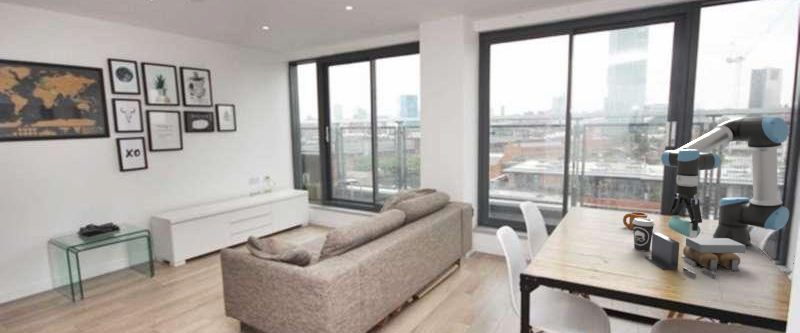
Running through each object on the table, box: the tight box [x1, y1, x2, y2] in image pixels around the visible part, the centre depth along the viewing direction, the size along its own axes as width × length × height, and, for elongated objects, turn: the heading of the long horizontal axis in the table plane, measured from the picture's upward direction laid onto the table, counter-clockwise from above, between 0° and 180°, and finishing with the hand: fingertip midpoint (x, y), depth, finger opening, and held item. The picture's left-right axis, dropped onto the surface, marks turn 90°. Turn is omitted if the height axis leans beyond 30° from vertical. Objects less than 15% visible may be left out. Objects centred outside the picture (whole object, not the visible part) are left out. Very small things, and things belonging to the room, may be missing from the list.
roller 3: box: [713, 253, 741, 269], centre depth 174 cm, size 14×7×7 cm, turn 175°
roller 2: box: [682, 245, 719, 269], centre depth 175 cm, size 14×7×7 cm, turn 175°
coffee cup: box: [632, 217, 656, 252], centre depth 196 cm, size 10×10×15 cm
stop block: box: [643, 232, 680, 271], centre depth 176 cm, size 6×15×12 cm, turn 175°
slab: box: [685, 237, 747, 254], centre depth 174 cm, size 18×10×4 cm, turn 85°
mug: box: [622, 211, 648, 231], centre depth 232 cm, size 9×12×9 cm
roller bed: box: [681, 255, 741, 279], centre depth 171 cm, size 23×25×5 cm
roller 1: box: [668, 216, 701, 238], centre depth 174 cm, size 12×6×6 cm, turn 176°
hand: (683, 233), depth 174 cm, fingers closed on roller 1, 11 cm apart
